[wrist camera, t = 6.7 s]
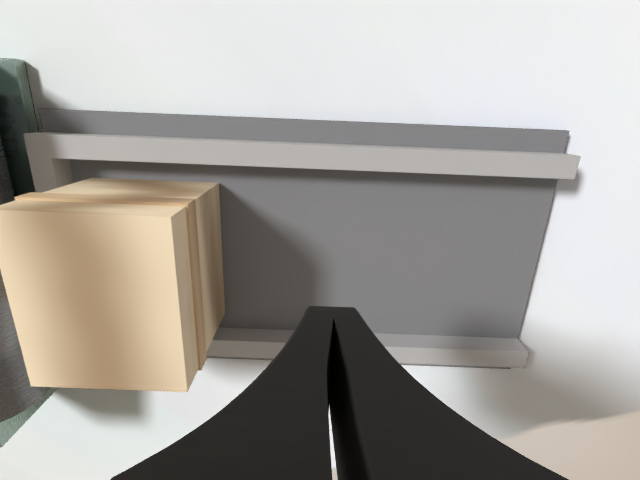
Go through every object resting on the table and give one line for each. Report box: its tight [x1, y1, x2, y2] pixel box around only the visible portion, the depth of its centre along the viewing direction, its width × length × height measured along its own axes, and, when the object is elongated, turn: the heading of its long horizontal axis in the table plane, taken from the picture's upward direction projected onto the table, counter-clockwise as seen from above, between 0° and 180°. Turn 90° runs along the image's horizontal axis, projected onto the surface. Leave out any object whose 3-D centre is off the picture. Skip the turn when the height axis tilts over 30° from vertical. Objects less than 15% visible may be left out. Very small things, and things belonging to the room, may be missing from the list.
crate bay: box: [23, 109, 581, 369], centre depth 19 cm, size 24×13×2 cm, turn 88°
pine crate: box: [0, 178, 225, 392], centre depth 16 cm, size 6×7×6 cm
